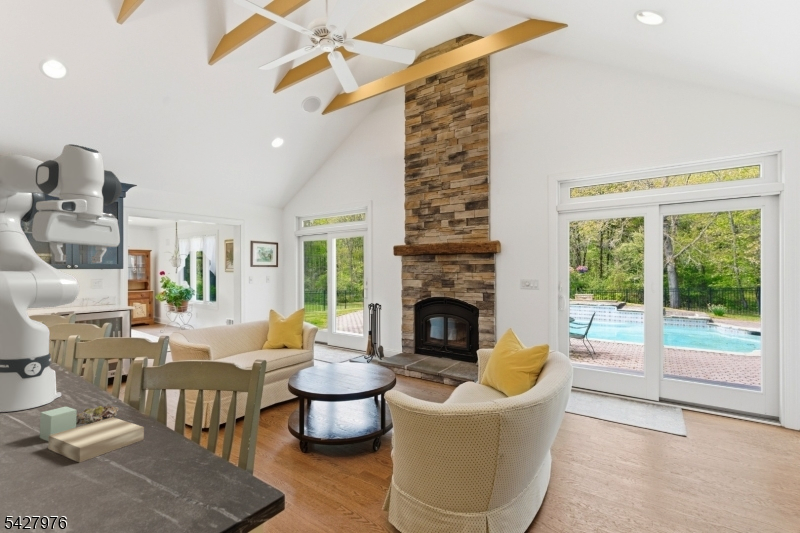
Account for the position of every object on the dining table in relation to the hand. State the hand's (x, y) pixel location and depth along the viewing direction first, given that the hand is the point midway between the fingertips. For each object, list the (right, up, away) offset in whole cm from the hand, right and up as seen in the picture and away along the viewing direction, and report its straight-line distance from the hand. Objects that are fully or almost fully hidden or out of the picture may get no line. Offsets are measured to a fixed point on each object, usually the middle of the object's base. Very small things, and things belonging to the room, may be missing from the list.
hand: (79, 262), depth 101 cm
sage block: (0, -42, -6) cm, 42 cm away
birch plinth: (+13, -42, -10) cm, 45 cm away
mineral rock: (0, -43, +5) cm, 43 cm away
